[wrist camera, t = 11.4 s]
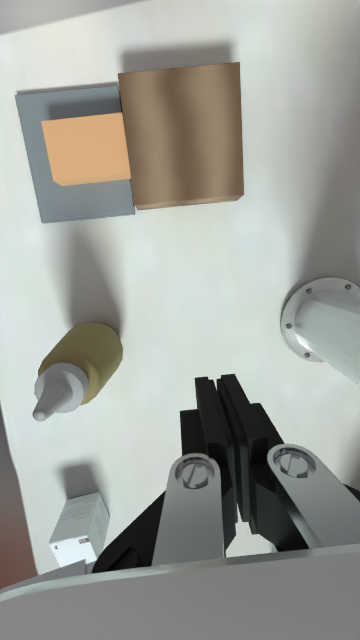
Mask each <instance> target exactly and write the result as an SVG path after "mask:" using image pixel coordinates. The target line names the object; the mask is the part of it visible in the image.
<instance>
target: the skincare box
mask: <svg viewBox="0 0 360 640" xmlns="http://www.w3.org/2000/svg"><path fill="white" fill-rule="evenodd" d="M109 520H110V516H109V514H108V511H107V509H106V507H105V504H104V502H103V499H102V497H101V495H100V492H96V493H92V494H88V495H84V496H80V497H76V498H73V499H68V500H67V501H66V503H65V506H64V508H63V511H62V513H61V515H60V518H59V520H58V522H57V525H56V527H55V530H54V532H53V534H52V537H51V539H50V541H49V545H50V547H51V549H52V551H53V553H54V555H55V557H56V559H57V561H58V564H59V566H60V568H61V567H64V566H67V565H70V564H72V563H75V562H78V561H81V560H84V559H86V563H87V564H88V563H91V562H93V561H96V560H97V559H98V557H99V555H100V554H101V553H102V550H103V546H104V542H105V537H106V533H107V529H108V524H109Z"/></svg>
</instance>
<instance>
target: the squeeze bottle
mask: <svg viewBox="0 0 360 640" xmlns="http://www.w3.org/2000/svg"><path fill="white" fill-rule="evenodd" d="M122 355H123V347H122V344H121V342H120V339H119V337H118V335H117V333H116V332H115V331H114V330H113V329H112V328H111V327H109V326H107V325H105V324H101V323H93V322H86V323H82V324H79V325H76V326H75V327H73V328H72V329H71V330H70V331H69V332H68V333H67V334H66V335H65V336H64V337H63V338H62V339H61V340H60V342H59V343H58V344H57V345H56V346H55V347H54V348H53V350H52V351H51V352H50V353H49V354H48V355H47V356H46V357H45V359H44V360H43V361H42V364H41V366H40V368H39V370H38V379H37V381H36V383H35V395H36V397H37V399H38V403H37V405H36V407H35V409H34V411H33V417H34V419H36V420H37V421H44V420H46V419H47V418H48V417H50V416H51V415H52V414H54V413H55V412H57V413H66V412H70V411H73V410H75V409H76V408H77V407H78V406H80V405H83V404H86V403H88V402H89V401H91V400H92V399H93V398H94V397H96V395H97V394H98V393H99V392H100V390H101V389H102V388H103V386H104V385H105V384H106V383H107V381H108V380H109V379H110V377H111V376H112V375H113V374H114V372H115V371H116V370H117V368H118V366H119V364H120V363H121V361H122Z"/></svg>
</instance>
